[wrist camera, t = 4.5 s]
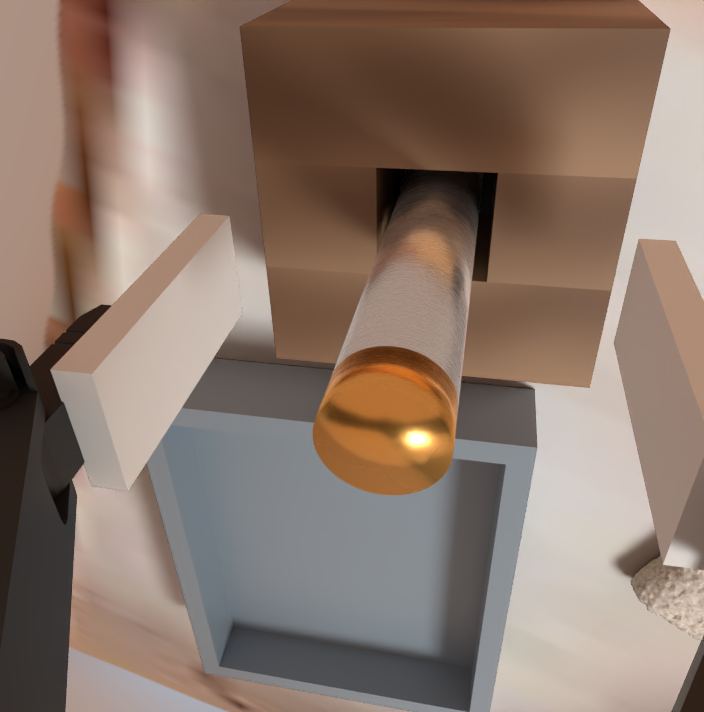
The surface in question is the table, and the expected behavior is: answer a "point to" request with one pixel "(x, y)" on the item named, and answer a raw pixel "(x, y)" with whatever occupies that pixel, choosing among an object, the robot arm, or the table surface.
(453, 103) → the block
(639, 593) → the washcloth
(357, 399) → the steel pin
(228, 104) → the table surface
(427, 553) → the tray
